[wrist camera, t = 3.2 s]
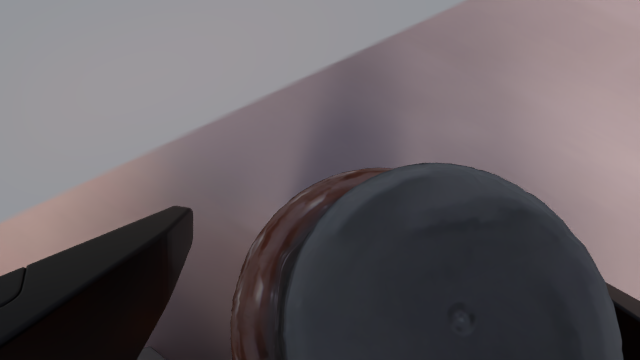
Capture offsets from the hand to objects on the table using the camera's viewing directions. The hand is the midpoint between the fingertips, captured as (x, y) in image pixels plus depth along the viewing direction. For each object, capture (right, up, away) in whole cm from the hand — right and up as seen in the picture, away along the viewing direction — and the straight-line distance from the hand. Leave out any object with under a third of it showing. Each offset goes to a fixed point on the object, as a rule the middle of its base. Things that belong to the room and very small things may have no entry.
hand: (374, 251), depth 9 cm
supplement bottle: (-1, -4, +6) cm, 7 cm away
